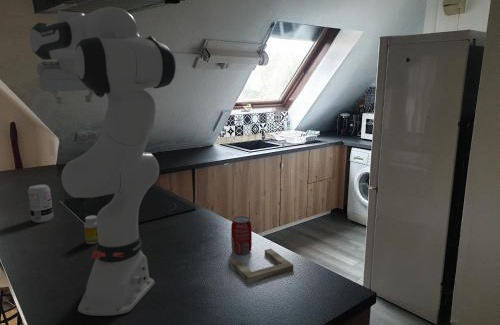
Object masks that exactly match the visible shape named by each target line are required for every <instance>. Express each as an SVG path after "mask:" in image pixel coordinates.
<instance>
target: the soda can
mask: <svg viewBox="0 0 500 325" xmlns="http://www.w3.org/2000/svg"><path fill="white" fill-rule="evenodd" d="M230 226H231V227H230V231H231V233H230V237H231V250H232V252H233V253H235V254H236V255H240V256H244V255H248V254H249V253H250V252H251V251H252V245H253V244H252V243H253V242H252V235H253V234H252V232H253V231H252V230H253V229H252V223H251V219H250V218H249V216H248V217H247V216H243V215H242V216H241V215H239V216H236V217H233V219H232V222H231V224H230Z"/></svg>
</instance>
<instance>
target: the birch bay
mask: <svg viewBox="0 0 500 325" xmlns="http://www.w3.org/2000/svg"><path fill="white" fill-rule="evenodd" d="M264 256H265V257H266V258H267V259H268V260H269V261H271V262H272V263H273V264H274V265H271V266H269V267H265V268H261V269H257V270H254V271H252V270H251V269H249V268H248V267H247V266H246V265H245V264H244V263H243V262H242V261H241V260H239V258H237V257H231V258H228V265H229V266H230V267H231V268H232V269H233V270H234V271H235V272H236V273H237V274H238V275H239V276H240V278H242V279H243V280H244V281H245V282H246V283H247V284H248V285H249V284H252V283H256V282H260V281H263V280H267V279H270V278H273V277H277V276H280V275H284V274H287V273H290V272H294V264H293V263H292V262H290V261H289V260H287V259H286V258H285V257H283V256H282V255H281V254H279V253H278V252H276V251H275V250H274V249H272V248H268V249H264Z"/></svg>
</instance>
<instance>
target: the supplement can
mask: <svg viewBox="0 0 500 325" xmlns="http://www.w3.org/2000/svg"><path fill="white" fill-rule="evenodd" d="M51 194H52V193H51V188H50V186H49V185H48V184H46V183H45V184H44V183H42V184H34V185H31V186H29V187H28V190H27V196H28V202H29V209H30V210H29V211H30V218H31V221H32V222H34V223H38V224H39V223H46V222H49V221H51V220H52V219H53V218H54V211H53V204H52V196H51Z"/></svg>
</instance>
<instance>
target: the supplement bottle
mask: <svg viewBox="0 0 500 325" xmlns="http://www.w3.org/2000/svg"><path fill="white" fill-rule="evenodd" d="M96 217H97V215H87V216H86V217H85V218H84V221H85V222H84V224H83V231H84V241H85V243H86V244H88V245H95V244H97V241H98V236H97V226H96Z"/></svg>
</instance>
